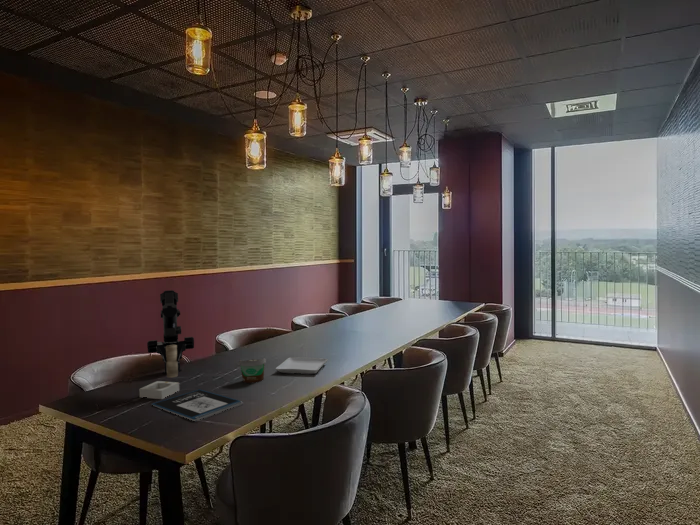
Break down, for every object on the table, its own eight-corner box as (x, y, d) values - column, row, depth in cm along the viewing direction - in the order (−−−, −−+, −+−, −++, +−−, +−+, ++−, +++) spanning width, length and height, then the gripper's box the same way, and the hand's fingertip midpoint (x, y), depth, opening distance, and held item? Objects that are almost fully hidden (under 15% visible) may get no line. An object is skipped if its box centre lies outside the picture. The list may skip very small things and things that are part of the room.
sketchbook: (199, 392, 198) (199, 387, 197) (244, 406, 179) (244, 400, 179) (151, 406, 181) (151, 401, 181) (195, 423, 162) (195, 417, 162)
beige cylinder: (165, 376, 196) (163, 346, 195) (174, 374, 199) (173, 344, 198) (170, 378, 193) (169, 347, 192) (180, 375, 196) (178, 345, 196)
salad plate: (317, 376, 215) (317, 369, 215) (274, 375, 219) (274, 368, 219) (328, 364, 236) (328, 358, 236) (289, 363, 240) (289, 356, 240)
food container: (239, 385, 204) (239, 362, 203) (239, 381, 210) (238, 359, 209) (268, 382, 207) (267, 360, 207) (266, 378, 213) (266, 357, 213)
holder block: (139, 397, 191) (139, 388, 191) (157, 388, 201) (157, 380, 201) (162, 399, 188) (161, 390, 187) (179, 390, 198) (179, 382, 198)
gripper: (146, 322, 195) (146, 353, 185) (192, 318, 202) (195, 348, 192) (148, 337, 203) (148, 368, 193) (192, 333, 210) (195, 362, 200)
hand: (171, 361), depth 194 cm, fingers closed on beige cylinder, 4 cm apart
